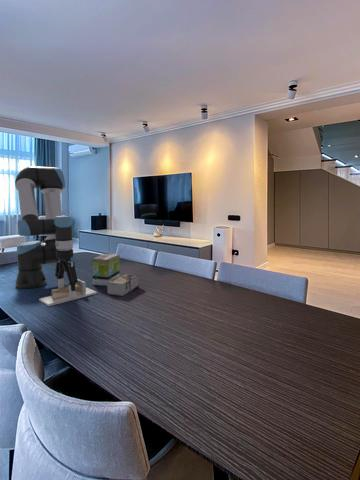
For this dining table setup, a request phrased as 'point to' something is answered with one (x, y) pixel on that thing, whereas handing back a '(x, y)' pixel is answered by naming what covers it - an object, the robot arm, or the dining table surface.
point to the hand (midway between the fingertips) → (66, 294)
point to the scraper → (64, 291)
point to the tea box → (105, 268)
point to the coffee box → (123, 285)
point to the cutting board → (65, 298)
